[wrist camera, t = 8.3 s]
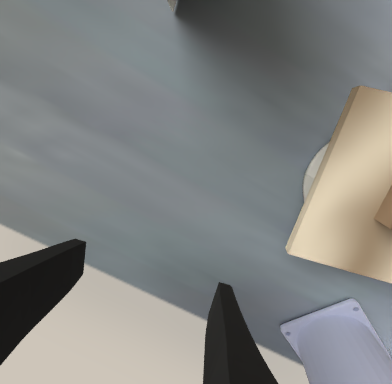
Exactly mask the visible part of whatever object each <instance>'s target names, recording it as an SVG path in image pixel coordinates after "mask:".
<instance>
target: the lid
mask: <svg viewBox="0 0 392 384" xmlns="http://www.w3.org/2000/svg"><path fill="white" fill-rule="evenodd" d="M286 250H287V252H288V254H290V255H294V256H297V257H301V258H304V259H308V260H311V261H315V262H318V263H322V264H325V265H329V266H332V267H336V268H339V269H343V270H346V271H350V272H353V273H357V274H360V275H364V276H367V277H371V278H374V279H378V280H381V281H385V282H388V283H392V93H391V92H387V91H383V90H378V89H374V88H369V87H365V86H357V87H355V88H352V90H351V93H350V95H349V97H348V100H347V102H346V104H345V107H344V109H343V112H342V114H341V116H340V119H339V121H338V124H337V126H336V128H335V131H334V133H333V135H332V138H331V140H330V143H329V145H328V147H327V150H326V152H325V155H324V157H323V159H322V162H321V164H320V166H319V169H318V171H317V174H316V176H315V178H314V181H313V183H312V186H311V188H310V190H309V193H308V195H307V197H306V200H305V202H304V205H303V207H302V209H301V212H300V214H299V217H298V219H297V221H296V224H295V226H294V228H293V231H292V233H291V236H290V238H289V240H288V243H287V245H286Z"/></svg>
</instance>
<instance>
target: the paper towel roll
mask: <svg viewBox="0 0 392 384" xmlns="http://www.w3.org/2000/svg"><path fill="white" fill-rule="evenodd" d="M167 1H168V3H169V6H170V8H171V10H172V12H173V11H174V7H175V4H176V0H167Z"/></svg>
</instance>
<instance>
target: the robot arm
mask: <svg viewBox="0 0 392 384" xmlns="http://www.w3.org/2000/svg"><path fill="white" fill-rule="evenodd" d="M85 249H86V242H84V241H81V240H78V239H73V240H69V241H66V242H63V243H60V244H57V245H54V246H51V247H48V248H45V249H42V250H39V251H37V252H33V253H30V254H27V255H24V256H21V257H17V258H14V259H10V260H7V261H4V262H0V365H1V364H2V363H3V362H4V360H5V359H6V358H7V357H8V356H9V354H10V353H11V352H12V351H13V350H14V349H15V347H16V346H17V345H18V344H19V343H20V341H21V340H22V339H23V338H24V337H25V336H26V335H27V334H28V333H29V332H30V331H31V330H32V329H33V327H35V326H36V324H38V323H39V322H40V321H41V320H42V319H43V318H44V317H45V316H46V315H47V314H48V313H49V312H50V311H51V310H52V309H53V308H54V307H55V306H56V305H57V304H58V303H59V302H60V301H61V300H62V298H64V296H65V295H66V294H67V293H68V292H69V291H70V290H71V289H72V287H73V286H74V285H75V284H76V283H77V281H78V280H79V279H80V277H81V276H82V275H83V270H84V259H85ZM354 307H356V308H354ZM280 330H281V332H282V333H283V335H284V336H285V338H286V339H287V341H288V342H289V344H290V345H291V346H292V348H293V349H294V351H295V352H296V354H297V355H298V356H299V358H300V359H301V361H302V362H303V365H304V368H305V371H306V374H307V377H308V380H309V383H310V384H392V358H391V356H390V354H389V353H388V351H387V349H386V348H385V346H384V344H383V343H382V341H381V339H380V338H379V336H378V334H377V333H376V331H375V329H374V328H373V326H372V325H371V323H370V321H369V320H368V318H367V316H366V315H365V313H364V311H363V310H362V308H361V306H360V305H359V303H358V302H357V301H356V300H355V299H352V298H351V299H348V300H345V301H342V302H340V303H337V304H334V305H332V306H329V307H326V308H324V309H321V310H318V311H316V312H313V313H310V314H308V315H305V316H303V317H300V318H297V319H295V320H292V321H289V322H287V323H284V324H282V325H281V326H280ZM205 336H206V337H205V355H204V376H203V384H278V382H277V381H276V379H275V378H274V376H273V374H272V373H271V371H270V369H269V368H268V366H267V364H266V362H265V361H264V359H263V357H262V356H261V354H260V352H259V350H258V348H257V346H256V344H255V342H254V340H253V338H252V336H251V334H250V332H249V329H248V327H247V325H246V323H245V320H244V318H243V316H242V313H241V311H240V308H239V306H238V303H237V300H236V298H235V295H234V292H233V289H232V287H231V286H230V285H227V284H224V283H220V282H219V284H218V287H217V290H216V293H215V296H214V299H213V302H212V305H211V308H210V311H209V315H208V321H207V328H206V335H205Z"/></svg>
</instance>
